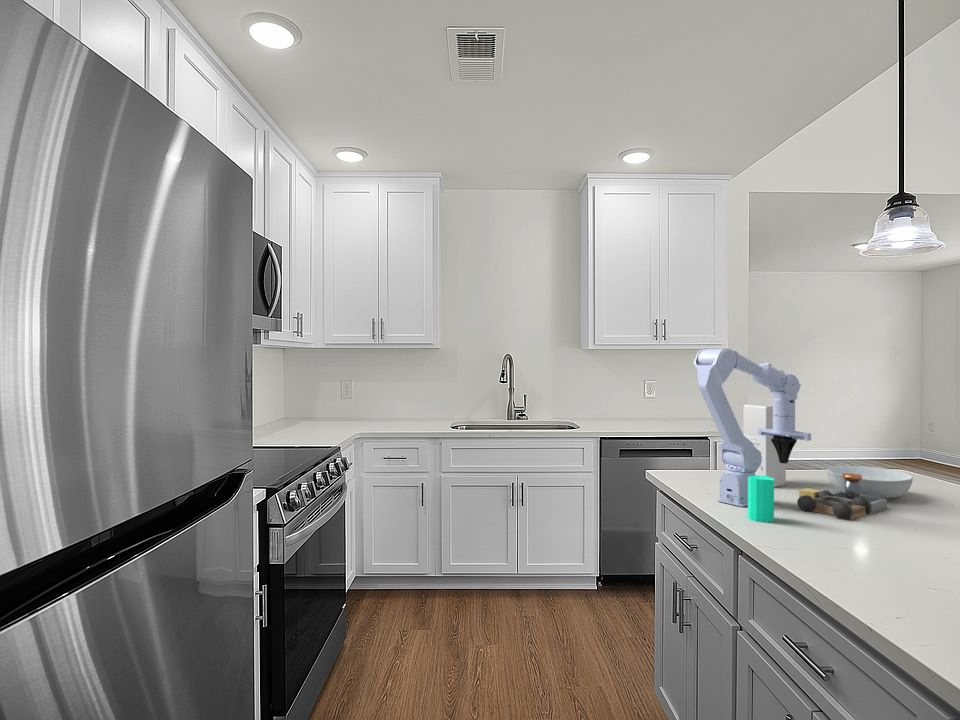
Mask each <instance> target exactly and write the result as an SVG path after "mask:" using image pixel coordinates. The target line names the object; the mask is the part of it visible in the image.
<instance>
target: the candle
mask: <svg viewBox="0 0 960 720" xmlns="http://www.w3.org/2000/svg"><path fill="white" fill-rule="evenodd" d="M747 519H748V520H750V521H753V522H757V523H772V522H773V523H774V521H775V487H774V478H770V477H768V476H763V475H755V476H749V477H748V506H747Z"/></svg>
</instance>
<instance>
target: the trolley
mask: <svg viewBox="0 0 960 720" xmlns="http://www.w3.org/2000/svg"><path fill="white" fill-rule="evenodd" d="M832 493H833V492H831V491H830V490H825V489H824V490H820V492H818V493H817V495H816V498H814V499H813V498H812V497H811V496H809V495H804V496H801V497H799V496H798V499H796V500H797V501H796V503H797V507H798V508H799V509H800V510H801V511H802V512H805V513H807V512H815V513H818V514H819V513H820V514H824V515H829V516H834V517H836V518H838V519H839V520H847V519H848V520H853V519H855V518H859V517H862V516H866V514H867V513H866V512H868V511H869V510H870V508H871V504H870V502H869V500H868V499H866V498H865V497H857V498H854V499H853V500H849V499H843V498H838V497H834V496H833V494H832Z"/></svg>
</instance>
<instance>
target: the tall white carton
mask: <svg viewBox="0 0 960 720" xmlns="http://www.w3.org/2000/svg"><path fill="white" fill-rule="evenodd" d="M742 419H743V421H742V422H743V424H742V425H743V427H742V428H743V432H742V434H743V435H744V436H745V437H746V438H747V439H749V440H750V441H751V442H752V443H753V445H754V447H755V448H756V449H757V450H759V451H760V453H761V456H762V462H761V465H760V467H759V468H758V469H757V472H755V475H763V476H768V477H770V478H774V488H775V487H782V486H786V476H787V475H786V471H787V470H786V467H787V465H786V464H787V463H785V464H784V463H780V461H779V457H778V454H777V451H776V449H775V447H774V445H773V443H772V442H771V439H772V438H773V436H765V435H758V429H759V428H765V429H773V404H768V403H754V404H753V403H752V404H751V403H750V404H748V403H747V404H744V405H743V418H742ZM776 435H778V434H776ZM783 436H787V435H783Z"/></svg>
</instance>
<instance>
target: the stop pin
mask: <svg viewBox="0 0 960 720" xmlns="http://www.w3.org/2000/svg"><path fill="white" fill-rule="evenodd" d="M843 478H844V479H845V492H844V498H846V499H852V500H853V499H854V498H857V497H860V480H862V475H860V474H854V473H843Z"/></svg>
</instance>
